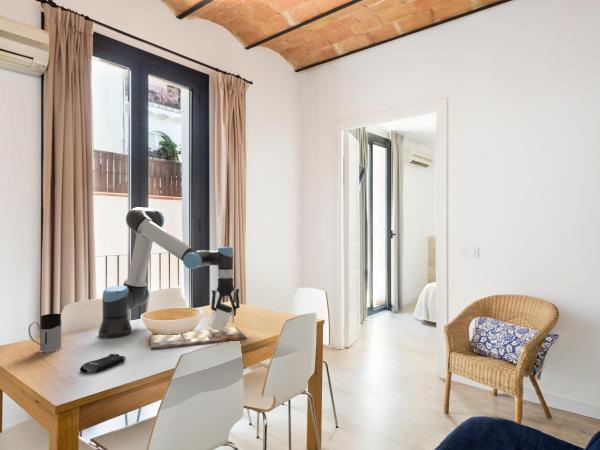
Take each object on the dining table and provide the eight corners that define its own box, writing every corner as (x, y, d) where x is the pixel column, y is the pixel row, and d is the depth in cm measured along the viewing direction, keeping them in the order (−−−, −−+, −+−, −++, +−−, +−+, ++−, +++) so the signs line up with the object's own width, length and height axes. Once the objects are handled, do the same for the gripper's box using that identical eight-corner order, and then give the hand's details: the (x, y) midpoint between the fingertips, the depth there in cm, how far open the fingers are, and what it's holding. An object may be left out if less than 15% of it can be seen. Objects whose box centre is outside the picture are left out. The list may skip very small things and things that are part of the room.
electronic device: (107, 364, 161) (74, 371, 147) (110, 350, 161) (77, 356, 148) (124, 370, 157) (90, 378, 143) (127, 356, 157) (94, 363, 144)
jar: (217, 330, 192) (226, 307, 194) (204, 324, 195) (213, 301, 197) (227, 331, 200) (236, 308, 201) (214, 325, 203) (223, 303, 205)
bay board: (151, 349, 173) (151, 346, 173) (149, 337, 192) (149, 335, 192) (246, 339, 190) (246, 336, 190) (236, 329, 209) (236, 326, 209)
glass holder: (67, 347, 176) (67, 314, 176) (36, 357, 163) (36, 321, 163) (52, 345, 179) (52, 312, 179) (21, 355, 166) (21, 319, 166)
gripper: (207, 279, 192) (207, 326, 192) (246, 277, 200) (246, 322, 200) (204, 277, 199) (204, 323, 199) (242, 275, 207) (242, 319, 207)
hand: (225, 322), depth 199 cm, fingers closed on jar, 7 cm apart
